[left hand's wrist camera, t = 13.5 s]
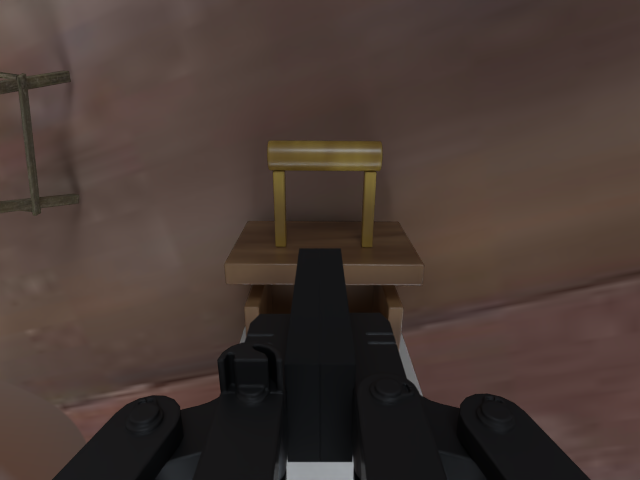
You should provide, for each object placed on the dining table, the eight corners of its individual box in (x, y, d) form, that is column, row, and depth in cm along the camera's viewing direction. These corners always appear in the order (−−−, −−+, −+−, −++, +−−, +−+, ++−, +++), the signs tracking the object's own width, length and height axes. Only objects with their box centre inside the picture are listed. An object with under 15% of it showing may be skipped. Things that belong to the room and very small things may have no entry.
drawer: (242, 131, 25) (213, 146, 18) (405, 132, 25) (436, 148, 18) (260, 434, 34) (244, 520, 27) (382, 434, 34) (398, 521, 27)
